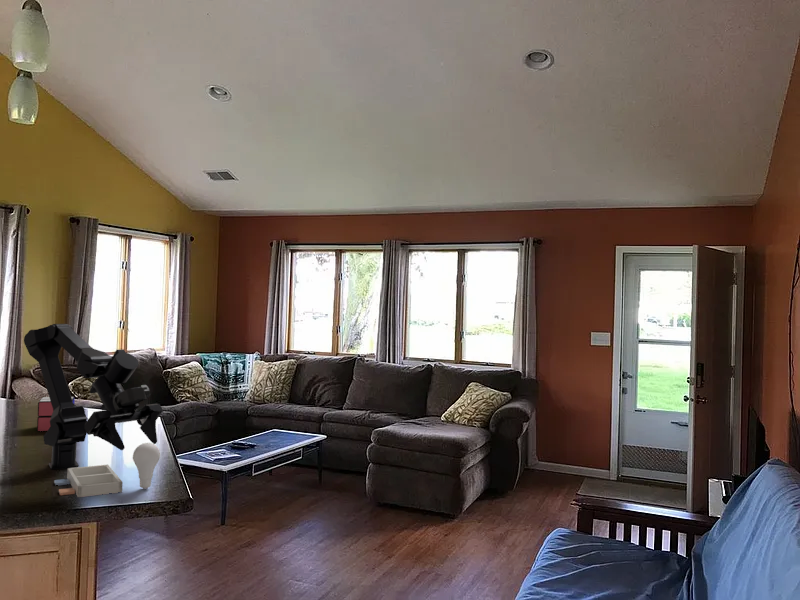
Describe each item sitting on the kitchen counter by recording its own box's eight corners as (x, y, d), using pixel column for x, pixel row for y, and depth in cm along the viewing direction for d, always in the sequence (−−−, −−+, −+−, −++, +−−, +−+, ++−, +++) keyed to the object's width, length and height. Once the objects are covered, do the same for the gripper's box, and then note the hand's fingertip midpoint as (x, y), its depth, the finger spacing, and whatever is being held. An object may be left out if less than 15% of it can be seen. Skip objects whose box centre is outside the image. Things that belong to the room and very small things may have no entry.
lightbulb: (162, 485, 162) (164, 440, 162) (153, 493, 156) (155, 446, 156) (136, 485, 162) (138, 439, 162) (127, 492, 156) (129, 445, 156)
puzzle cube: (70, 431, 220) (72, 401, 220) (36, 432, 217) (38, 401, 217) (73, 425, 230) (74, 396, 230) (40, 426, 226) (42, 397, 226)
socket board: (52, 479, 163) (53, 469, 163) (107, 473, 170) (108, 464, 170) (62, 499, 148) (62, 488, 148) (122, 492, 155) (122, 482, 155)
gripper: (93, 377, 155) (121, 430, 149) (159, 372, 171) (187, 420, 165) (72, 407, 159) (98, 460, 153) (138, 399, 175) (165, 447, 169)
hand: (139, 446), depth 160 cm, fingers open, 9 cm apart
